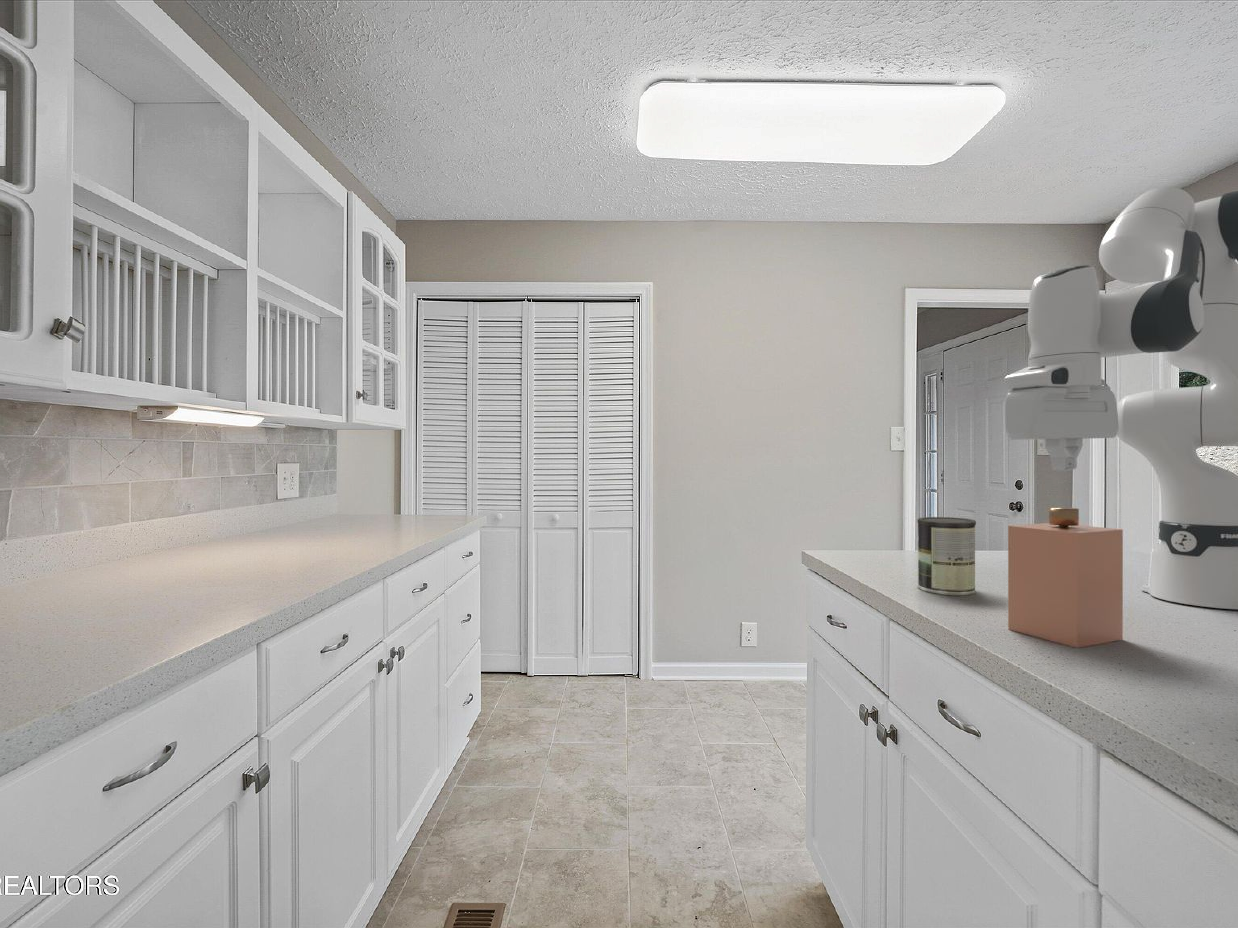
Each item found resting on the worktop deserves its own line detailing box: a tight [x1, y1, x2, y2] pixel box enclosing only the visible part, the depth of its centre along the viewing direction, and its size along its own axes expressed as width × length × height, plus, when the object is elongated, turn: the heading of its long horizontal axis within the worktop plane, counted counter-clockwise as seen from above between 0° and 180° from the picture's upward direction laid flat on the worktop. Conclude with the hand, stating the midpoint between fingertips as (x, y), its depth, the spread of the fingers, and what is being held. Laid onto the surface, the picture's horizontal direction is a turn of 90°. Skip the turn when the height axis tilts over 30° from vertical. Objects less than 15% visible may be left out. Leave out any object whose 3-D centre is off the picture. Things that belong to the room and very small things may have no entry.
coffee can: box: [916, 516, 977, 596], centre depth 122 cm, size 10×10×14 cm
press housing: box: [1007, 522, 1124, 649], centre depth 91 cm, size 10×10×16 cm
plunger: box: [1048, 506, 1080, 529], centre depth 91 cm, size 8×8×13 cm
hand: (1064, 469), depth 91 cm, fingers closed
